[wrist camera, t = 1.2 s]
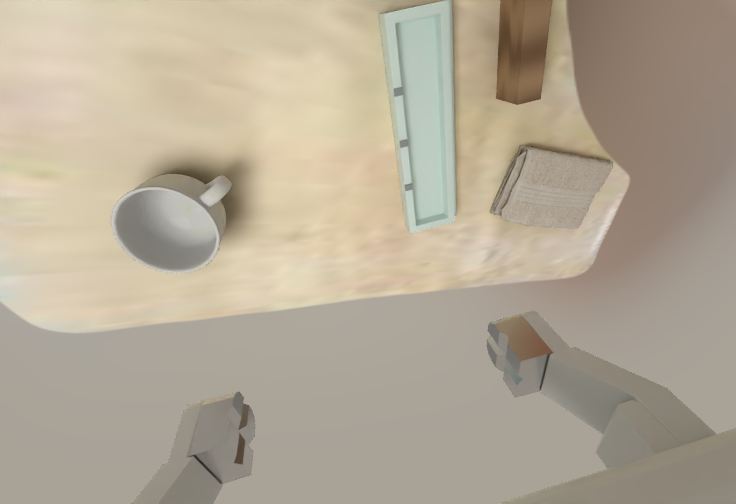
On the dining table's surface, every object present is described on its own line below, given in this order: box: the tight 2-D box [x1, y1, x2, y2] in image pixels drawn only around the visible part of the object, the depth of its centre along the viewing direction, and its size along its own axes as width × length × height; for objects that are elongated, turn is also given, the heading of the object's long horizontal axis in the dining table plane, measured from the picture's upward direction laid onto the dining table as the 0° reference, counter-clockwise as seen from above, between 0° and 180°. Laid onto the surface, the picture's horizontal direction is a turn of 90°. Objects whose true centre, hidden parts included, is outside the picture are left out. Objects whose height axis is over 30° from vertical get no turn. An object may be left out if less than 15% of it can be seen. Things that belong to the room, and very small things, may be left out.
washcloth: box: [490, 145, 613, 229], centre depth 52 cm, size 12×18×3 cm, turn 79°
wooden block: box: [496, 0, 552, 105], centre depth 38 cm, size 11×3×5 cm, turn 11°
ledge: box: [379, 0, 456, 233], centre depth 42 cm, size 27×8×3 cm, turn 10°
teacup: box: [111, 174, 232, 274], centre depth 39 cm, size 14×11×8 cm
